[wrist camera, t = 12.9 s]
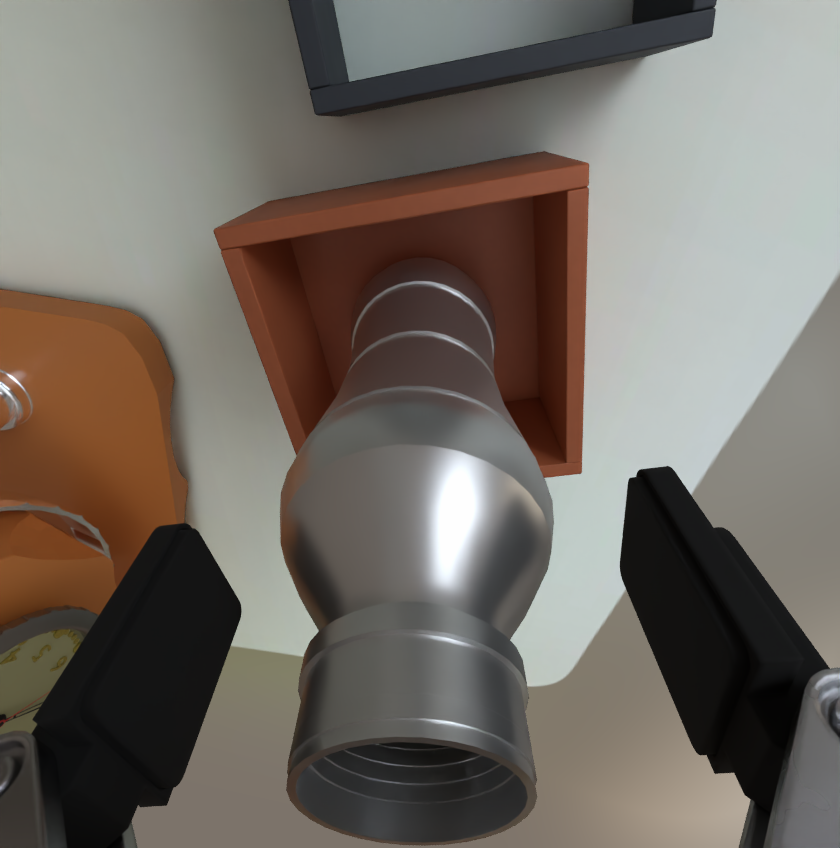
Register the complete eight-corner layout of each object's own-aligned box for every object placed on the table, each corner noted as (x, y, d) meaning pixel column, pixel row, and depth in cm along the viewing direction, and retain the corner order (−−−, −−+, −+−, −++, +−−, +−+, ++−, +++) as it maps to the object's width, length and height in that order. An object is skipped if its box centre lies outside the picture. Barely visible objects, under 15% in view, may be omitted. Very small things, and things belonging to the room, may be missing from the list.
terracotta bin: (267, 201, 22) (211, 229, 16) (545, 150, 20) (589, 162, 15) (336, 428, 28) (314, 504, 23) (550, 400, 27) (582, 473, 21)
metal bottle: (400, 394, 26) (348, 896, 9) (332, 284, 23) (62, 744, 6) (510, 343, 24) (692, 844, 8) (453, 217, 21) (548, 597, 4)
